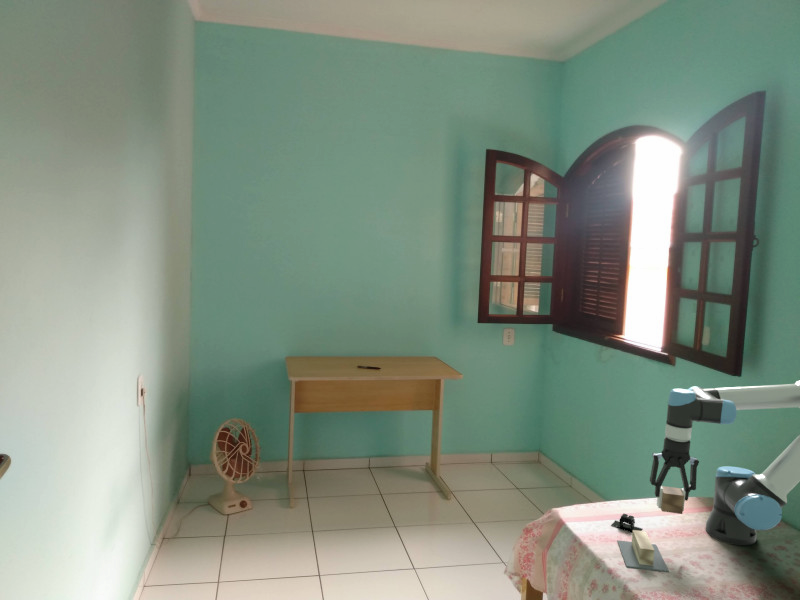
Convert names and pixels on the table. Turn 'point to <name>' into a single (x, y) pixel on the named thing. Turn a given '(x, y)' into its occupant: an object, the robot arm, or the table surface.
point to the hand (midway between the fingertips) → (670, 507)
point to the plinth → (642, 547)
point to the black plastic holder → (625, 526)
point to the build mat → (633, 562)
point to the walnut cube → (672, 500)
